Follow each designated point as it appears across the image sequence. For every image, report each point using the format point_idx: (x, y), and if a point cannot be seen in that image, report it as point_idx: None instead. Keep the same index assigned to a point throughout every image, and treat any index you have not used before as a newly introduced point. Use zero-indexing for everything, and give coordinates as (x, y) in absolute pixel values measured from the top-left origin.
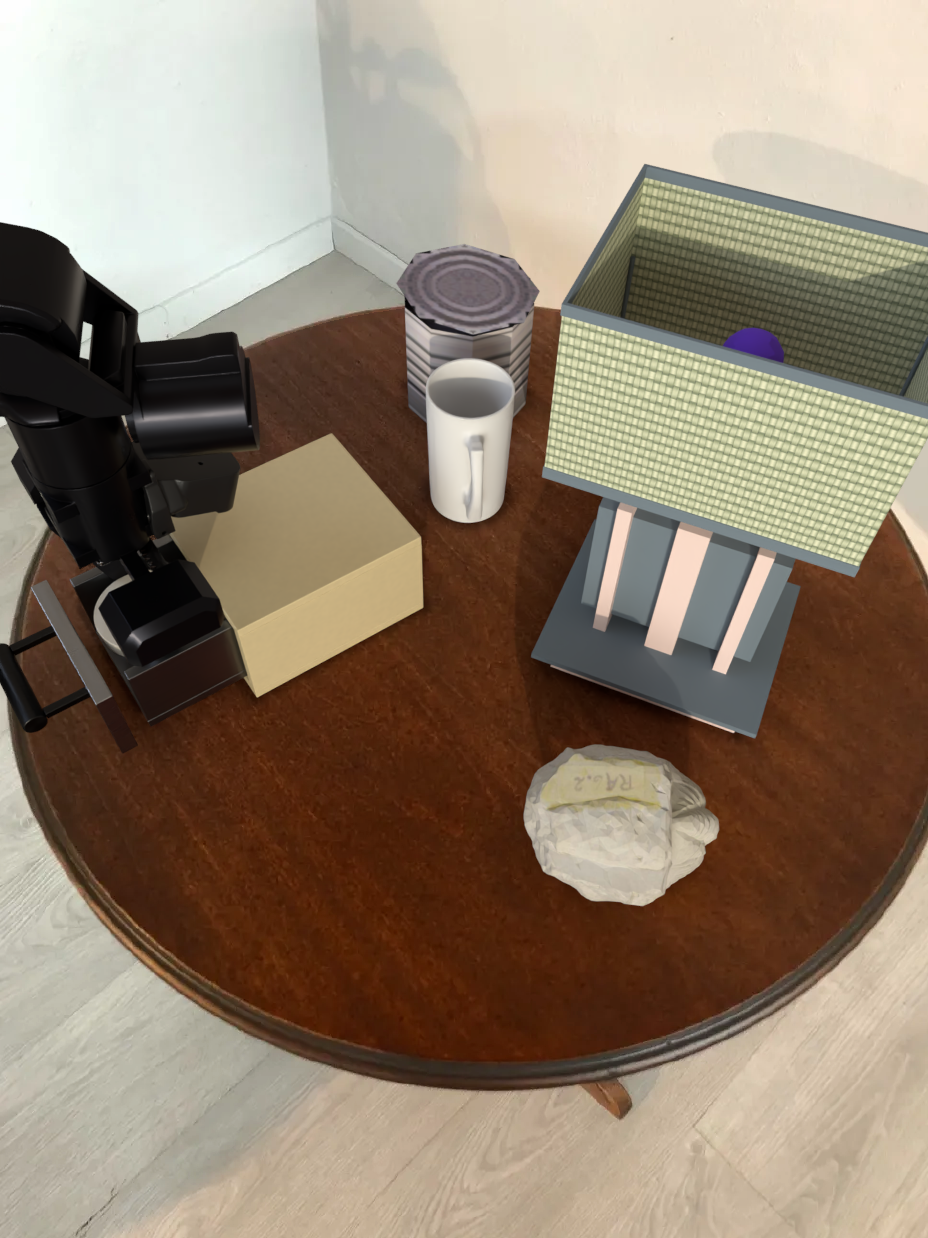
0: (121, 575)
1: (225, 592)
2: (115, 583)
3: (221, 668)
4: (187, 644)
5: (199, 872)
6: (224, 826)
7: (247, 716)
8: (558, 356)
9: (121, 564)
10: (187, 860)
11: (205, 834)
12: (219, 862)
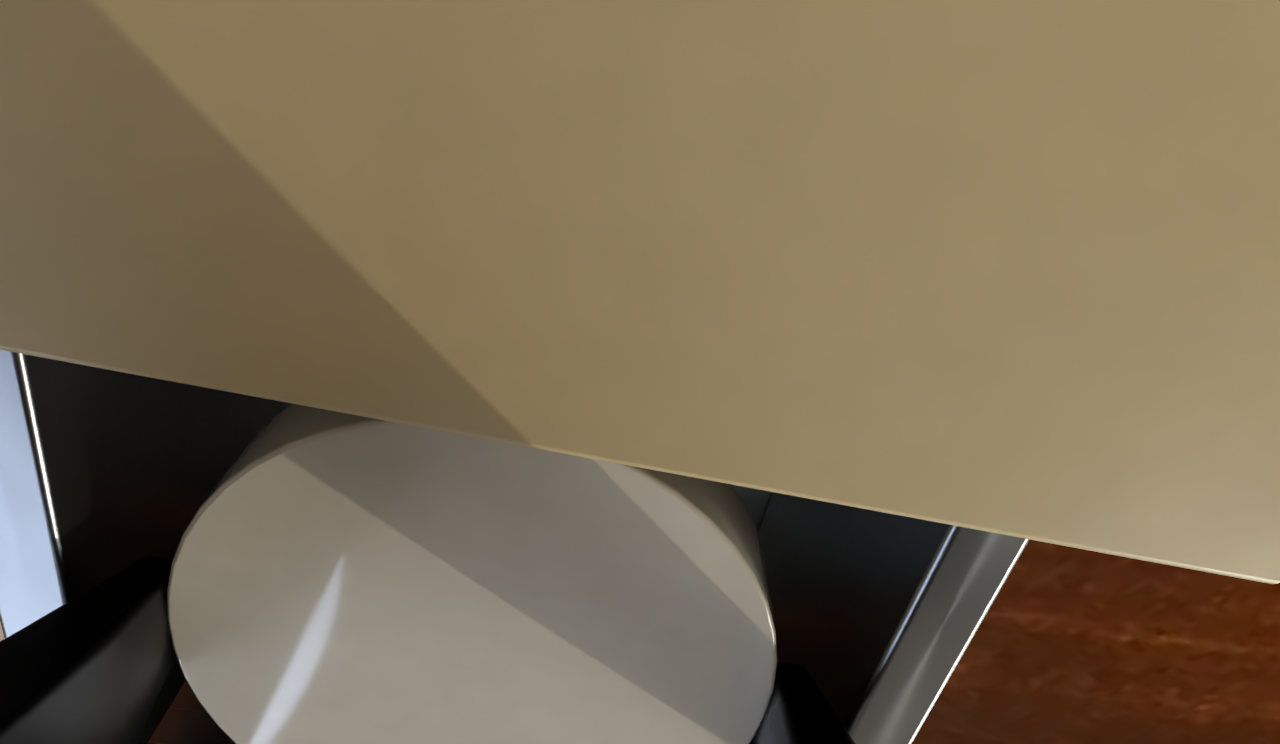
0: (159, 638)
1: (921, 433)
2: (199, 674)
3: None
4: (910, 696)
5: (1200, 679)
6: (1184, 576)
7: None
8: None
9: (102, 705)
10: (1146, 679)
11: (1144, 618)
12: (1238, 639)
